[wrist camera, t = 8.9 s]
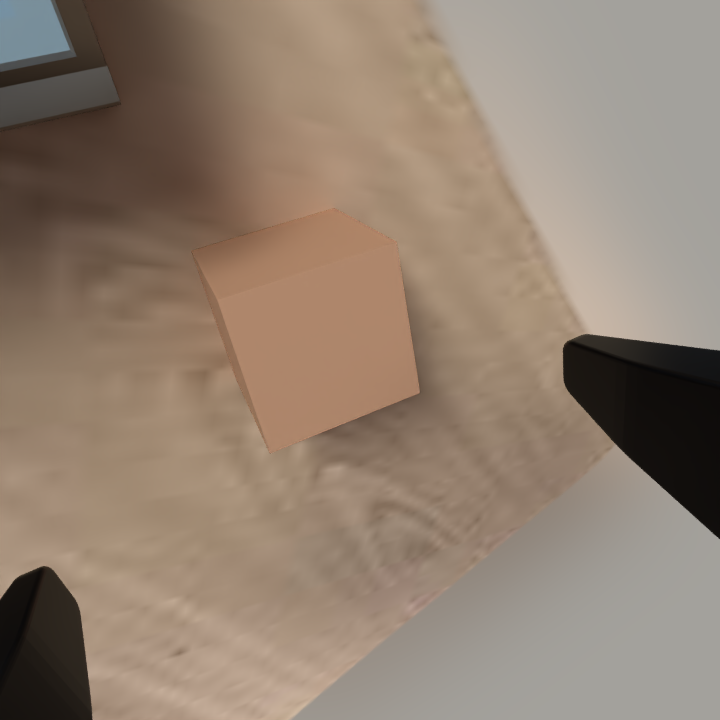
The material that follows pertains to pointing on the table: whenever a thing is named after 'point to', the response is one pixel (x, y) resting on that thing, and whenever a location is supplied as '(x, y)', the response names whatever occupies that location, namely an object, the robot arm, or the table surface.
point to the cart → (32, 34)
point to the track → (59, 78)
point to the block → (311, 322)
